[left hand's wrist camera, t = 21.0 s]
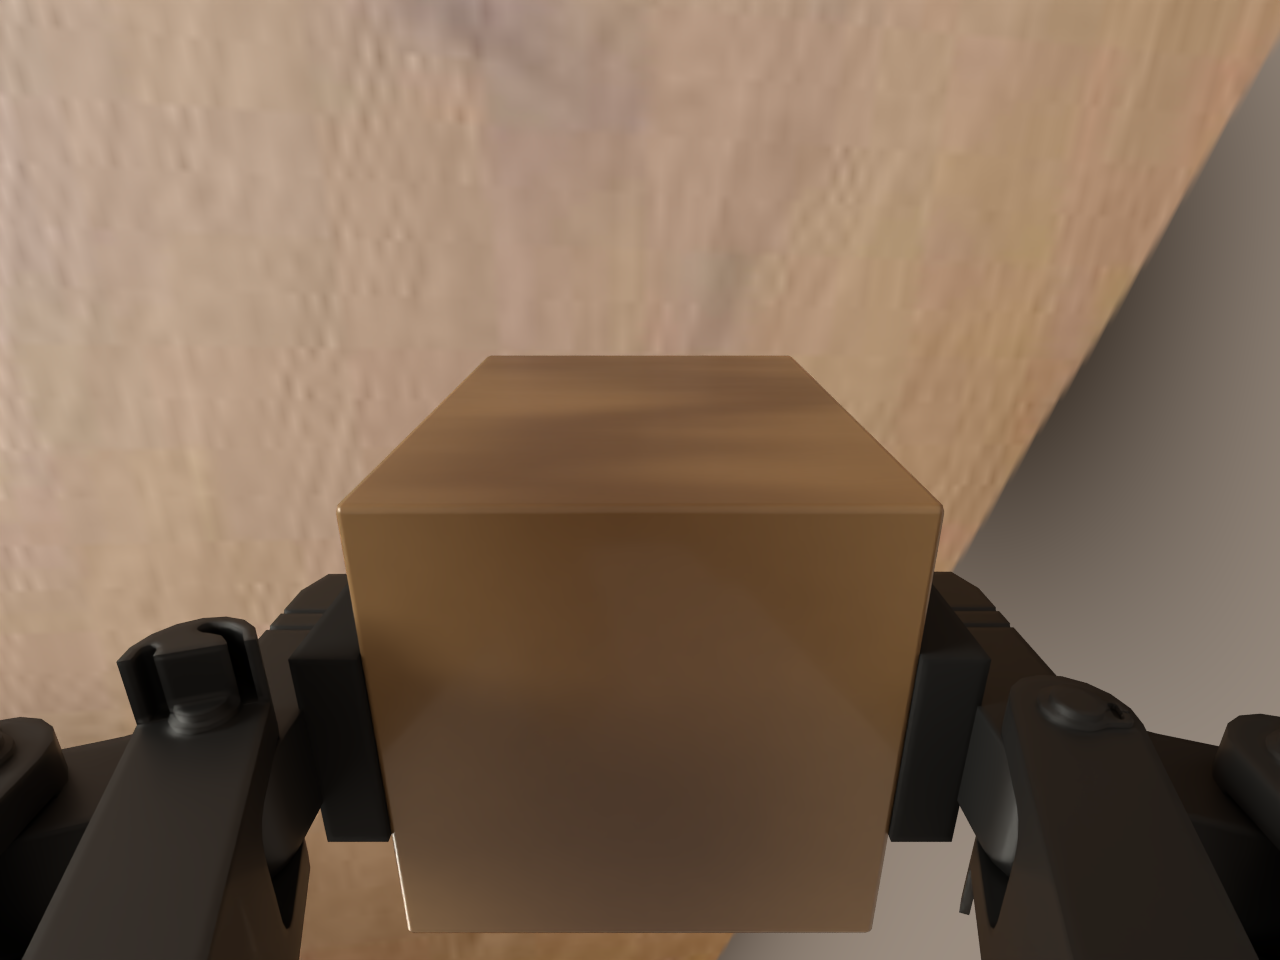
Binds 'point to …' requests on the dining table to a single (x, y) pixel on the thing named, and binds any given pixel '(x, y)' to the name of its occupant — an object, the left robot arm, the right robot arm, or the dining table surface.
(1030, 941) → the left robot arm
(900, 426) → the dining table surface
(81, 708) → the dining table surface
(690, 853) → the block
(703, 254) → the dining table surface
